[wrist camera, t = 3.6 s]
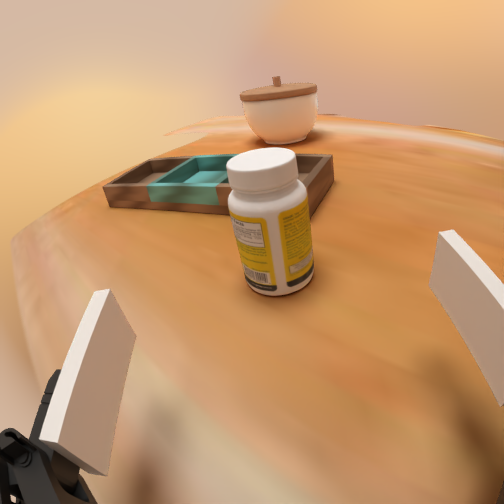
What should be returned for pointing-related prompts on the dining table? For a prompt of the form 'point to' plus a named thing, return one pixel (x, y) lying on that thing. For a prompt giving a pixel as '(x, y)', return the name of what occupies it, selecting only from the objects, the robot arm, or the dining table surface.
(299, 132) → the lidded bowl
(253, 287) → the supplement bottle
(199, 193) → the tray
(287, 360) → the dining table surface
